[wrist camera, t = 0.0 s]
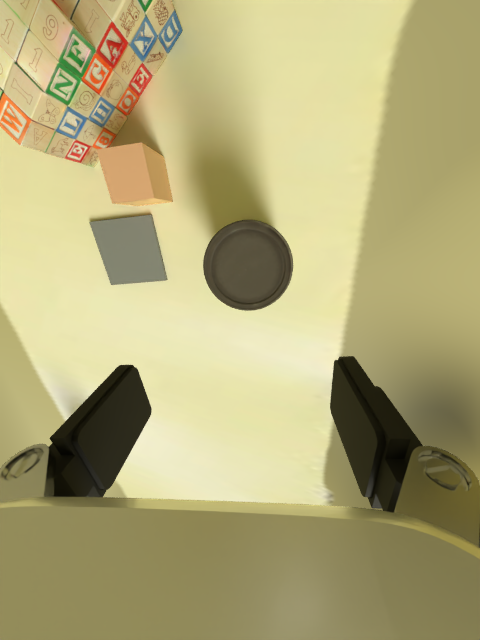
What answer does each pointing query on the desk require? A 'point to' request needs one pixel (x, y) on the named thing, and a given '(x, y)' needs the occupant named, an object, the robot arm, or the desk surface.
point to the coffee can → (248, 265)
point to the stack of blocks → (78, 69)
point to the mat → (129, 249)
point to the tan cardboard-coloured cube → (135, 175)
